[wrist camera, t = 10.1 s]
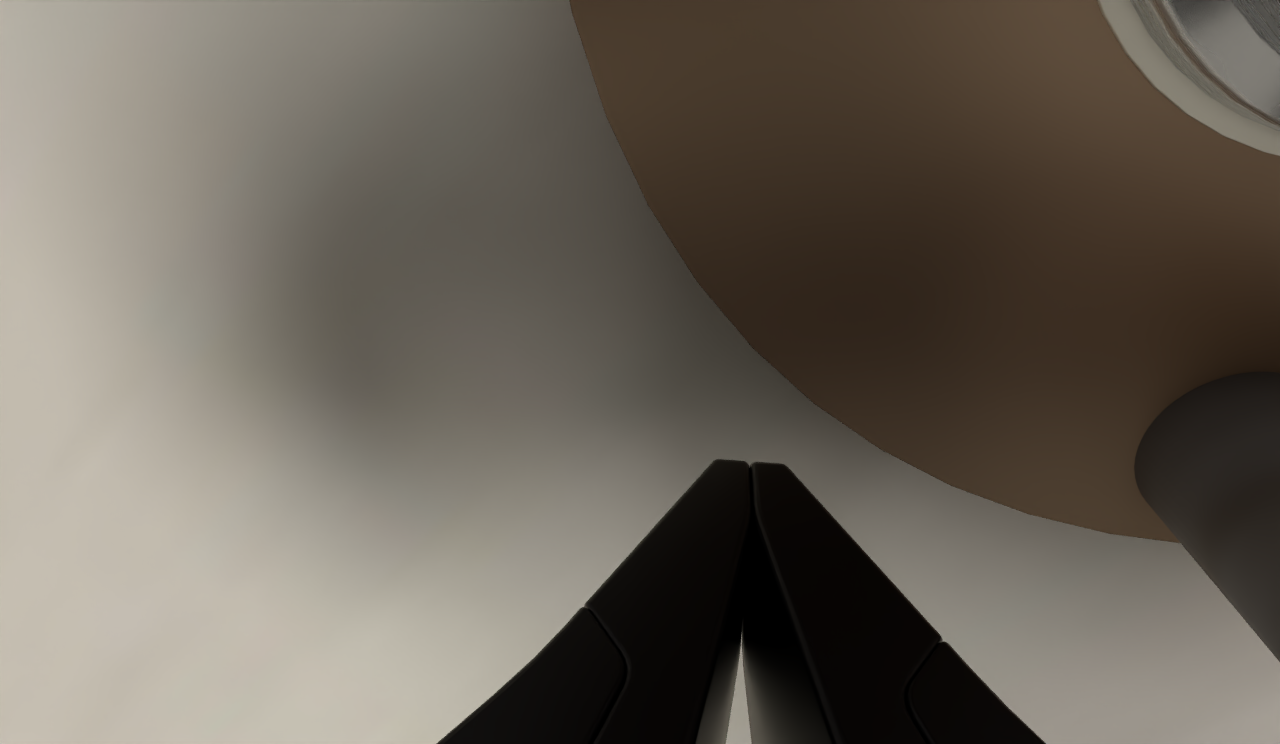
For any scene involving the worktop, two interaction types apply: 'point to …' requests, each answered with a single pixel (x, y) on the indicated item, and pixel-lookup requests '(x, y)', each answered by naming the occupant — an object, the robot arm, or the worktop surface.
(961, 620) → the worktop surface
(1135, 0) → the cap
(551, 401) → the worktop surface
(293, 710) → the worktop surface
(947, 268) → the turntable
